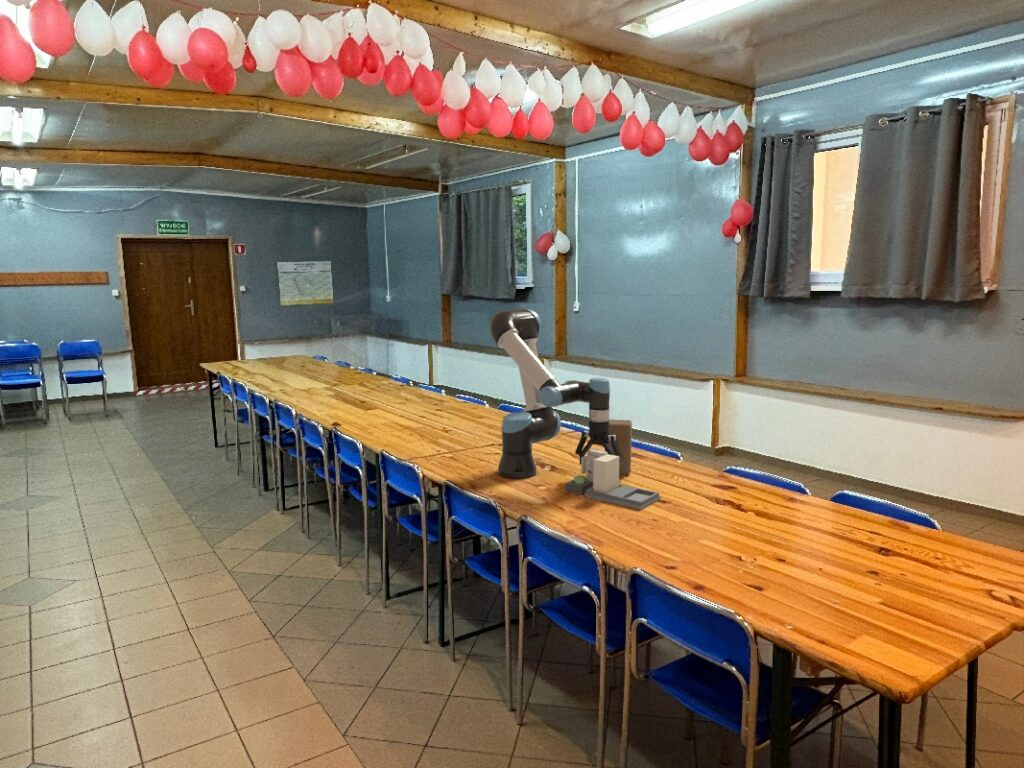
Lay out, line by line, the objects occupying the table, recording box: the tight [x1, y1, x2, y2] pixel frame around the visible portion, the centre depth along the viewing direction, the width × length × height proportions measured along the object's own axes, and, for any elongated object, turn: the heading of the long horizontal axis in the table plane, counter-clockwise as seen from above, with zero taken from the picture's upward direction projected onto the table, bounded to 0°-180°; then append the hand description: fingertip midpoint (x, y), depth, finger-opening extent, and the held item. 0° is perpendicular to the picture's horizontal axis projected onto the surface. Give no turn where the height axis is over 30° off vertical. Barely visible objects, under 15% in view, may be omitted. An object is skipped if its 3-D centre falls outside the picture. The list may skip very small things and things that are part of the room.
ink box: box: [586, 448, 608, 482], centre depth 252 cm, size 8×5×12 cm, turn 30°
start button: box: [573, 475, 585, 485], centre depth 243 cm, size 4×4×4 cm
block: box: [604, 418, 633, 476], centre depth 264 cm, size 10×10×20 cm
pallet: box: [584, 483, 661, 511], centre depth 234 cm, size 22×14×2 cm, turn 51°
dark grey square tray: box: [565, 479, 593, 495], centre depth 243 cm, size 7×7×3 cm
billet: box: [593, 454, 620, 493], centre depth 237 cm, size 5×9×12 cm, turn 141°
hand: (598, 476), depth 253 cm, fingers open, 12 cm apart
